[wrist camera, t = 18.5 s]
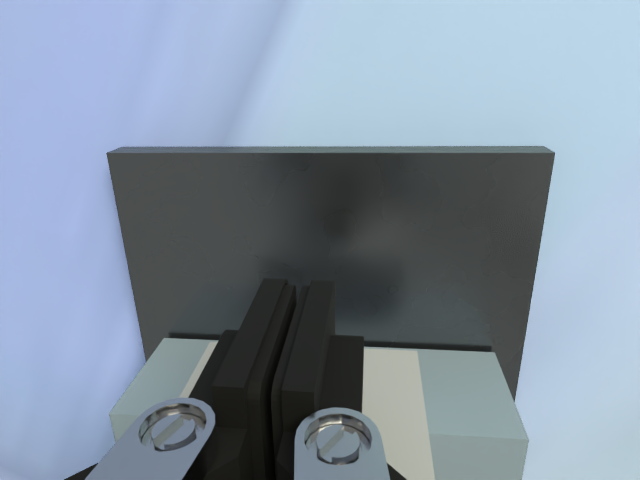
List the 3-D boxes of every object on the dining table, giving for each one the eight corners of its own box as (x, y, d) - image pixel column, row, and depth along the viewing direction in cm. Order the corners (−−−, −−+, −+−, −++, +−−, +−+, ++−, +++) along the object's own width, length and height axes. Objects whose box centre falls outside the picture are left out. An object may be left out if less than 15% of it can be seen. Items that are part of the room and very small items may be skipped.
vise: (544, 146, 15) (619, 190, 10) (478, 570, 22) (505, 706, 18) (121, 146, 16) (23, 185, 12) (192, 544, 24) (148, 663, 19)
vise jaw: (501, 301, 16) (640, 582, 8) (482, 440, 18) (574, 775, 10) (156, 290, 17) (-51, 519, 9) (177, 421, 19) (30, 702, 11)
